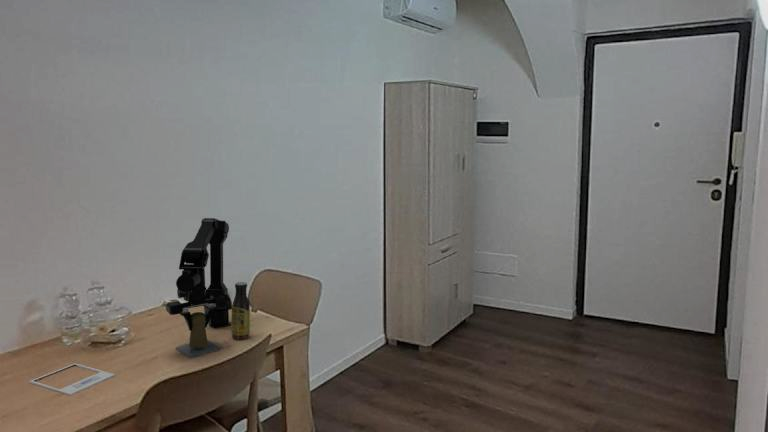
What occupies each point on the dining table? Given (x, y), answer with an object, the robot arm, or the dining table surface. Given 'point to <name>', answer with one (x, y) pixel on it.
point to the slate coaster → (198, 349)
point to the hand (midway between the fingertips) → (198, 328)
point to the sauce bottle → (240, 312)
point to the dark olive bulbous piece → (198, 331)
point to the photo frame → (80, 384)
